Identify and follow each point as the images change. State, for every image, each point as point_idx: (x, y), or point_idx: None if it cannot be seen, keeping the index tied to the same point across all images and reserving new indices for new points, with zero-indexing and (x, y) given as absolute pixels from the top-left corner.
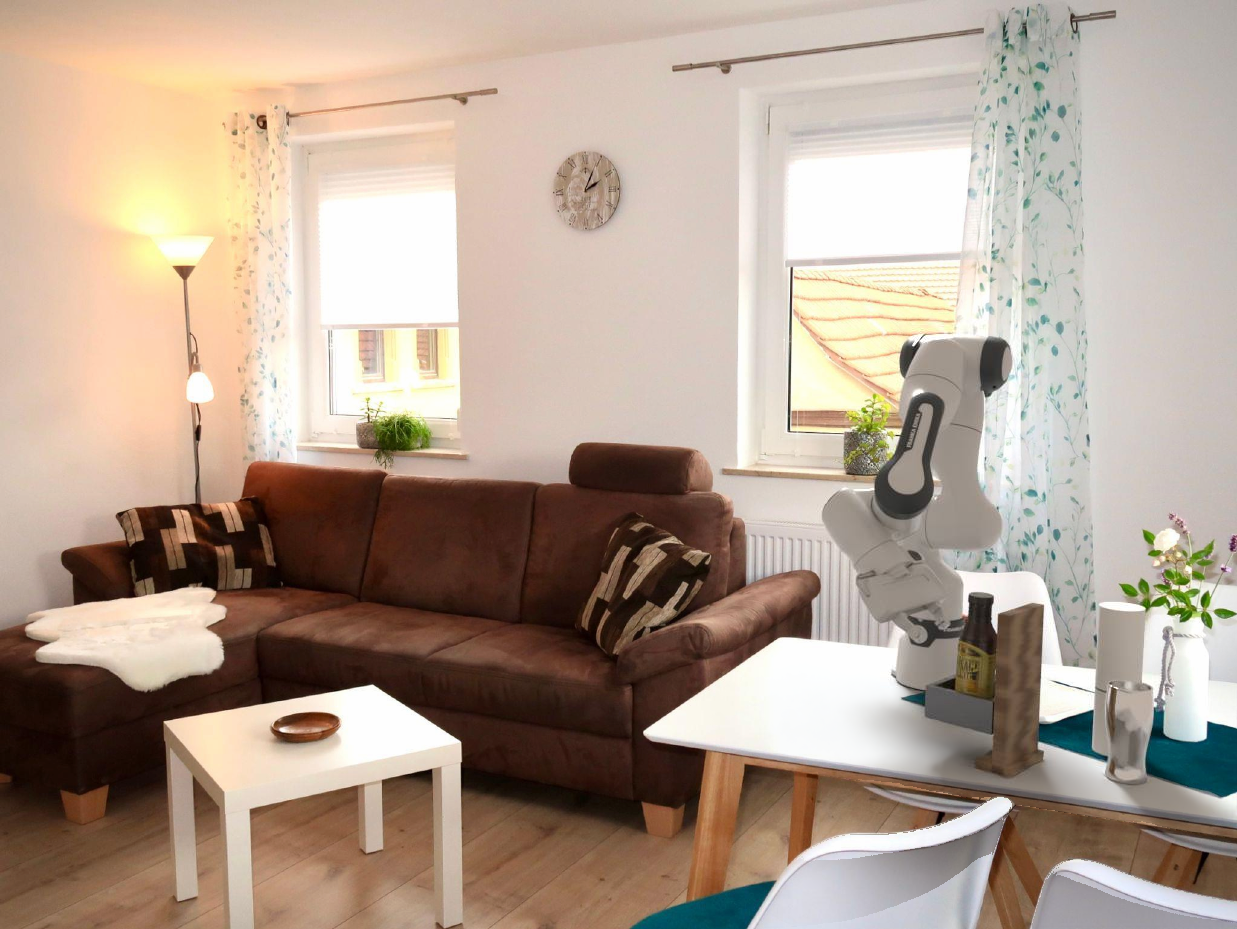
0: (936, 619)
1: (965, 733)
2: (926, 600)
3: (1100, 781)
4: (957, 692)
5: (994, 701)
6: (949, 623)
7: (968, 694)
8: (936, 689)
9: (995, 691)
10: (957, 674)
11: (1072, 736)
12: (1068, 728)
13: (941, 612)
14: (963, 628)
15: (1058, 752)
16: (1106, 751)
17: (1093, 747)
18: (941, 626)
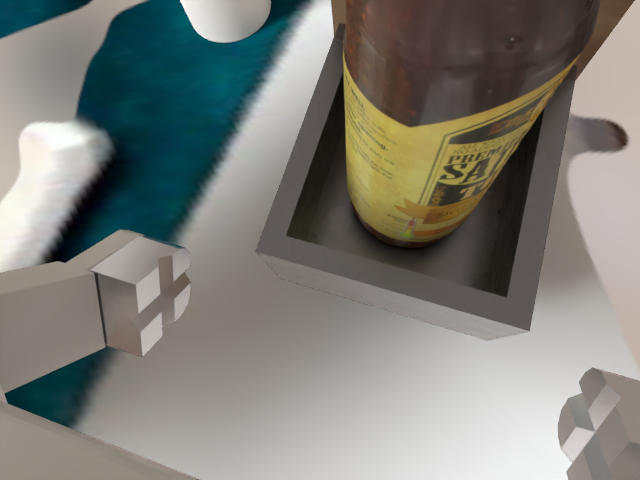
0: (83, 348)
1: (258, 281)
2: (86, 474)
3: None
4: (546, 192)
5: (594, 54)
6: (136, 233)
7: (544, 153)
8: (537, 280)
9: (615, 23)
10: (479, 191)
11: (174, 81)
12: (123, 96)
13: (38, 293)
14: (541, 1)
15: (291, 87)
16: (266, 8)
17: (243, 33)
18: (178, 292)
